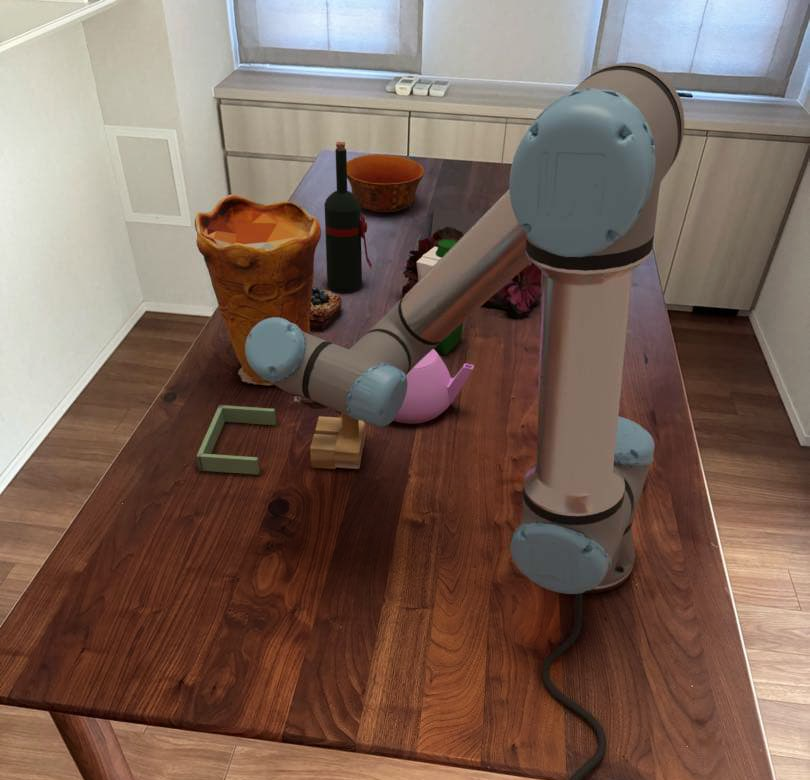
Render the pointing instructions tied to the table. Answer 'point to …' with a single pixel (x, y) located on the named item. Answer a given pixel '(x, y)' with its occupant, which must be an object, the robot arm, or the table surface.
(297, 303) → the vase
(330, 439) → the cube
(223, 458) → the frame
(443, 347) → the soya milk
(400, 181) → the bowl
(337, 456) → the peg on base
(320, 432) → the cube
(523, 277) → the flower arrangement
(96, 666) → the table surface
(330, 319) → the pastry
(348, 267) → the wine bottle
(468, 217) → the notebook
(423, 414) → the teapot
